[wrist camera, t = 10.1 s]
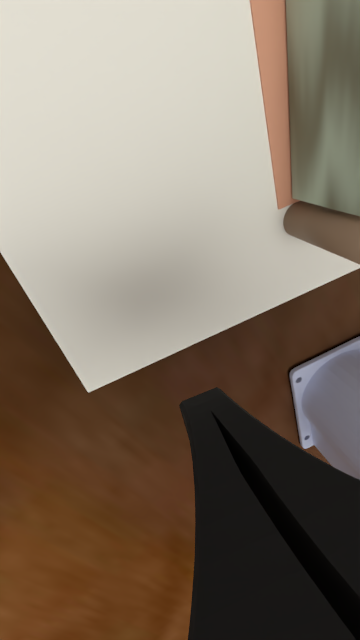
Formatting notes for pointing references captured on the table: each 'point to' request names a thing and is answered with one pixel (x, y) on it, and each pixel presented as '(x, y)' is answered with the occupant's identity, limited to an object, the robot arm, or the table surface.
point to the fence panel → (325, 102)
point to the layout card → (153, 175)
